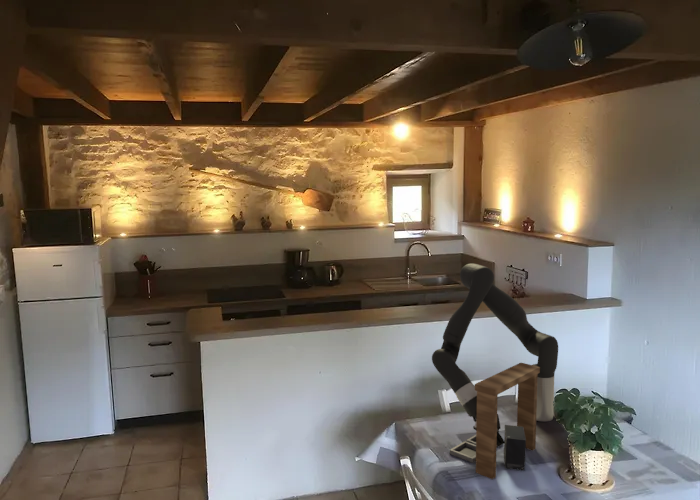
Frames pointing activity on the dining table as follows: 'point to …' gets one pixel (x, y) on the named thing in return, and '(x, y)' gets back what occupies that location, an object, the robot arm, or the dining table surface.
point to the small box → (514, 447)
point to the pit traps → (466, 450)
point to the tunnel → (488, 412)
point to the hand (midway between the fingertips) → (501, 444)
